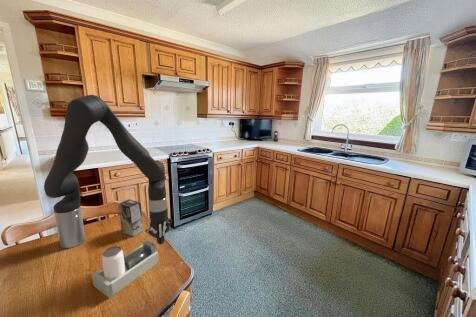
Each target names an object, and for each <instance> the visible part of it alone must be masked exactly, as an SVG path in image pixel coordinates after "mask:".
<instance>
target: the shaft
mask: <svg viewBox="0 0 476 317" xmlns="http://www.w3.org/2000/svg"><path fill="white" fill-rule="evenodd" d="M142 245H143V251H141V252H140V253H138V254H137V255H135V256H133V257H132V258H130V259H129V260H127V261H126V262H125V266H126V268H127V270H129V269H131V268H132V267H134V266H135V265H137V264H138V263H140V262H141V261H143V260H144V259H146V258H147V257H149V256H150V255H152V254H153V253H155V252H156V245H155V243H153V242H151V241H149V240H146V241H144V242H142Z"/></svg>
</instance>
